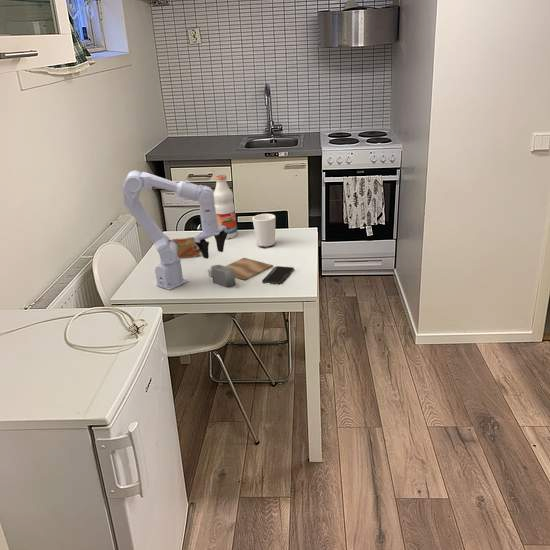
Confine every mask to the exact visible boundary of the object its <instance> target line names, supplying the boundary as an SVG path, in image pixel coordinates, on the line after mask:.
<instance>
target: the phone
mask: <svg viewBox="0 0 550 550" xmlns="http://www.w3.org/2000/svg"><path fill="white" fill-rule="evenodd" d="M294 271H295V268H294V267H291V266H280V265H277V266H275V267H274V268H272V270H271V271H270V272H269V273H268V274H267V275H266V276H265V277H264V278H263V279H262V280H261V283H262V282H263V283H262V284H265V283H270V284H269V285H276V284H278V285H277V286H279V285H280V284H281V285H282V284H283V283H284V282H286V280H287V279H288V278H289V277H290V275H292V273H293V272H294Z"/></svg>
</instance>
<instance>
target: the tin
mask: <svg viewBox="0 0 550 550" xmlns="http://www.w3.org/2000/svg"><path fill="white" fill-rule="evenodd" d="M194 237H195V236H191V237H183V238H182V237H180V238H173V239H171V240H172V241H174V242H175V243H176V244H177V246H178V251H177V256H178V257H179V258H180V260H181V259H190V258H196V257H198V256H200V254H202V253H201V250H200V249H199V247H198V246H197V244H196V243H195V239H194Z"/></svg>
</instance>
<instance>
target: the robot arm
mask: <svg viewBox="0 0 550 550" xmlns="http://www.w3.org/2000/svg"><path fill="white" fill-rule="evenodd" d="M143 188H144V190H149V189H150V188H158V189H162V190H167V191H171V192H175V193H176V195H177V197H180V198H183V199H187V200H190V201H193V202H198V203H199V214H200V215H199V216H200V222H201V223H200V224H201V229H202V231H201V232H200V233H198V234H197V235H196V236H193V237H194V239H195V243H196V244H197V246H198V247H199V249H200V250H201V253H200V254H202V257H203V259H207V260H208V259H209V256H210V255H209V246H210V245H209V244H210V242H209V241H207V239H209V238H211V237H214V238H215V242H216V247H217V248H216V249H217V252H219V253H224V247H225V241H226V240H227V239H226V237H227V233H225V231H227V230H226V226H220V227H218V225H217V217H216V209H215V206H214V205H215V203H214V194H213V193H214V191H213V189H212V188H211V187H210V186H208V185H202V184H199V185H198V184H195V183H192V182H190V180H187V179H186V180H181V181H179V182H176V181H173V180H170V179H167V178H164V177H161V176H158V175H155V174H152V173H149V172H145V171H142V172H141V171H140V170H135V169H134V170H131V171H129V172H128V173H127V175H126V178H125V179H124V182H123V185H122V188H121V189H122V195H123V205H124V206H125V208H126V209H127V210H128V211H129V212H130V214H131V215H132V217H133V218H134V219H135V220H136V222H137V223H138V224H139V226H140V227H141V228H142V230H143V231H144V232H145V233H146V235H147V236H148V238H149V239H150V240H151V241H152V243H153V244H154V247H155V249H156V251H157V253H158V255H159V258H160V264H159V265H158V264H157V266H156V267H155V269H154V273H155V279H156V286H157V287H159V288H162V289H164V290H169V291H171V290H172V289H175V288H177V287H179V286H180V285H183V284H186V283H188V282H189V280H188V279H186V278H184V277H183V275H184V274H183V269H182V262H181V259H180V258H179V257H178V256H177V251H178V246H177V244H176V243H175V242H174V241H172V239H170V238H169V235H166V234H164V232H163V230H162V229H161V227H159V225H158V223H157V222H156V221H155V220H154V218H153V217H152V215H151V214H150V213H149V212H148V211H147V209H146V208H145V206H144V205H143V204H142V202H141V201H140V195H141V192H142V190H143Z"/></svg>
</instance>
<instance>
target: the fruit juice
mask: <svg viewBox="0 0 550 550" xmlns="http://www.w3.org/2000/svg"><path fill="white" fill-rule="evenodd" d="M215 182H216V183H215V187H214V188H215V189H214V191H213V194H214V204H215V205H214V206H215V209H216V217H217V225H218V227H220V226H226V230H227V231H225V233H227V237H226V239H225V240H229V238H231V239H235V238H236V237H237V236H238V225H237V215H236V208H235V206H236V205H235V204H234V201H233V200H234V193H233V191H232V190H231V188H230V186H229V185H228V182H227V175H223V174H220V175H216V176H215Z"/></svg>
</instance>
